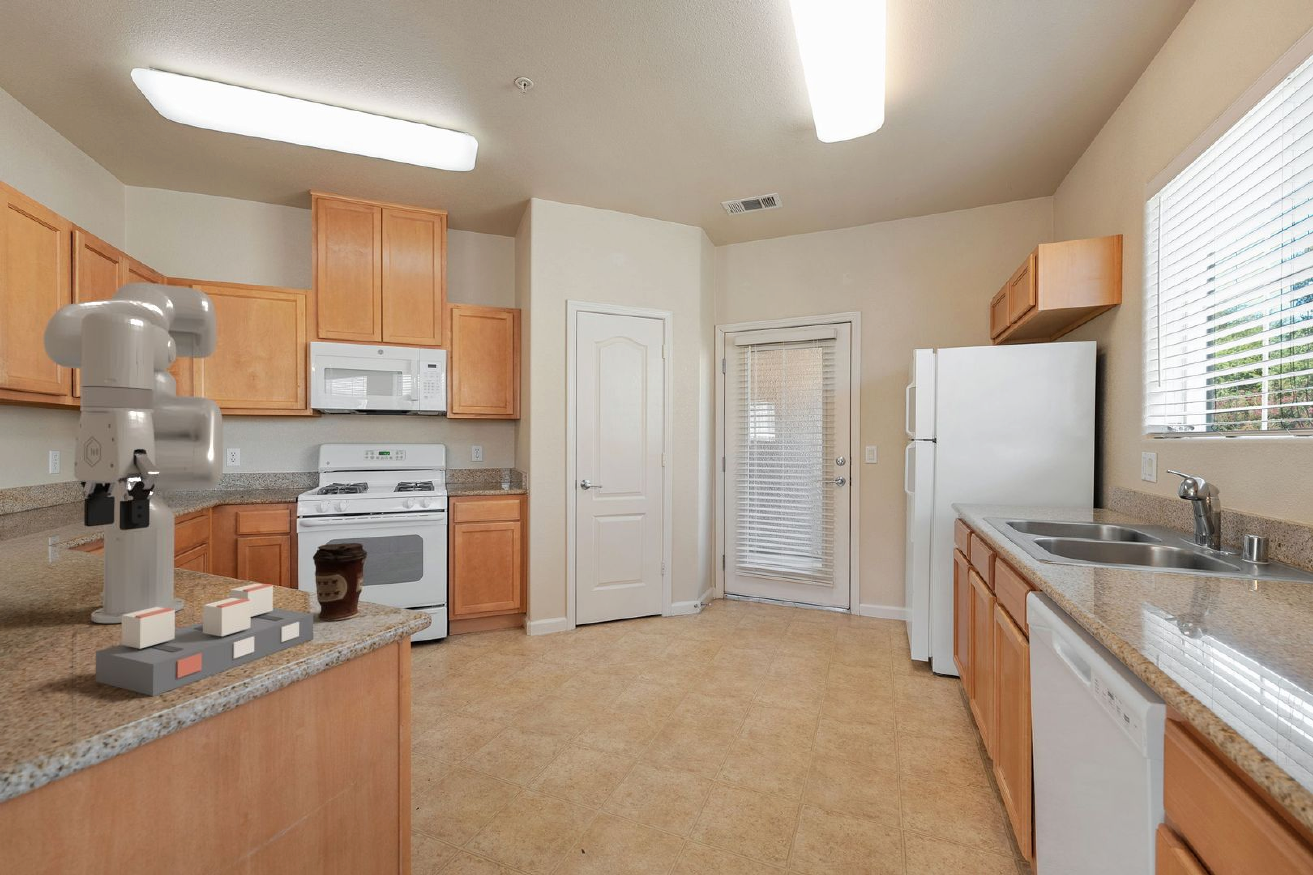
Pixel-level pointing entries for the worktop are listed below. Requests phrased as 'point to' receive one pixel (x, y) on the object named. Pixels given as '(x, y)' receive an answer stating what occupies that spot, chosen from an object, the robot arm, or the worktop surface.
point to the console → (200, 653)
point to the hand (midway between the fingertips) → (116, 526)
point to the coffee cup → (339, 579)
